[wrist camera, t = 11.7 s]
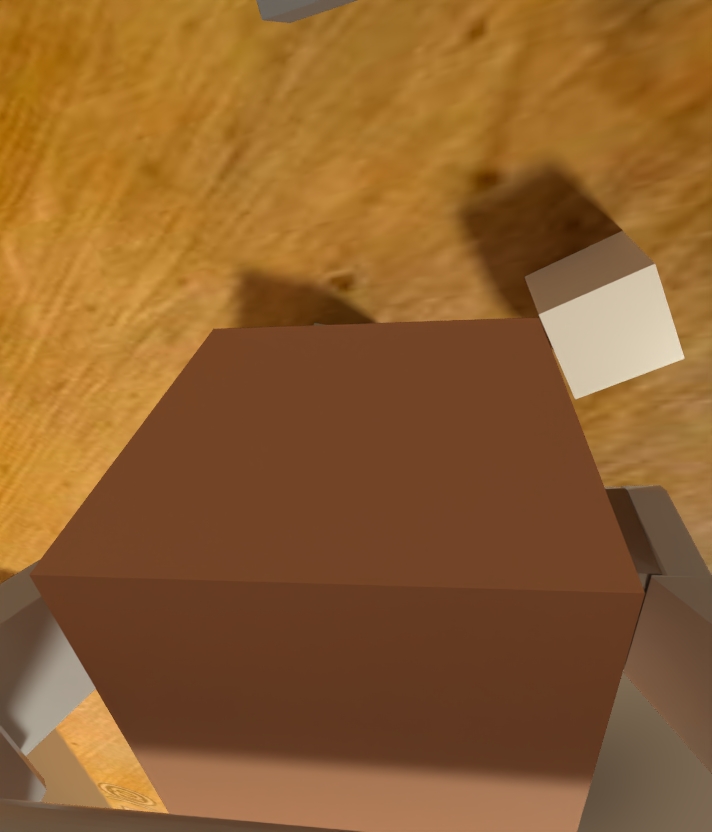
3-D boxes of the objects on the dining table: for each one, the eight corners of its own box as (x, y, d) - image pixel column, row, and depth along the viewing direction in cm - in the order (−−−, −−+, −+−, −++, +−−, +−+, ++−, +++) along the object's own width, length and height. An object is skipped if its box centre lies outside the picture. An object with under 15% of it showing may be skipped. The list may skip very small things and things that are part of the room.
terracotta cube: (213, 329, 9) (28, 576, 5) (538, 317, 8) (645, 593, 4) (267, 550, 12) (178, 828, 8) (516, 556, 11) (566, 865, 7)
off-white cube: (524, 275, 30) (538, 314, 26) (622, 230, 28) (655, 263, 24) (557, 352, 32) (575, 399, 28) (650, 314, 30) (684, 358, 26)
